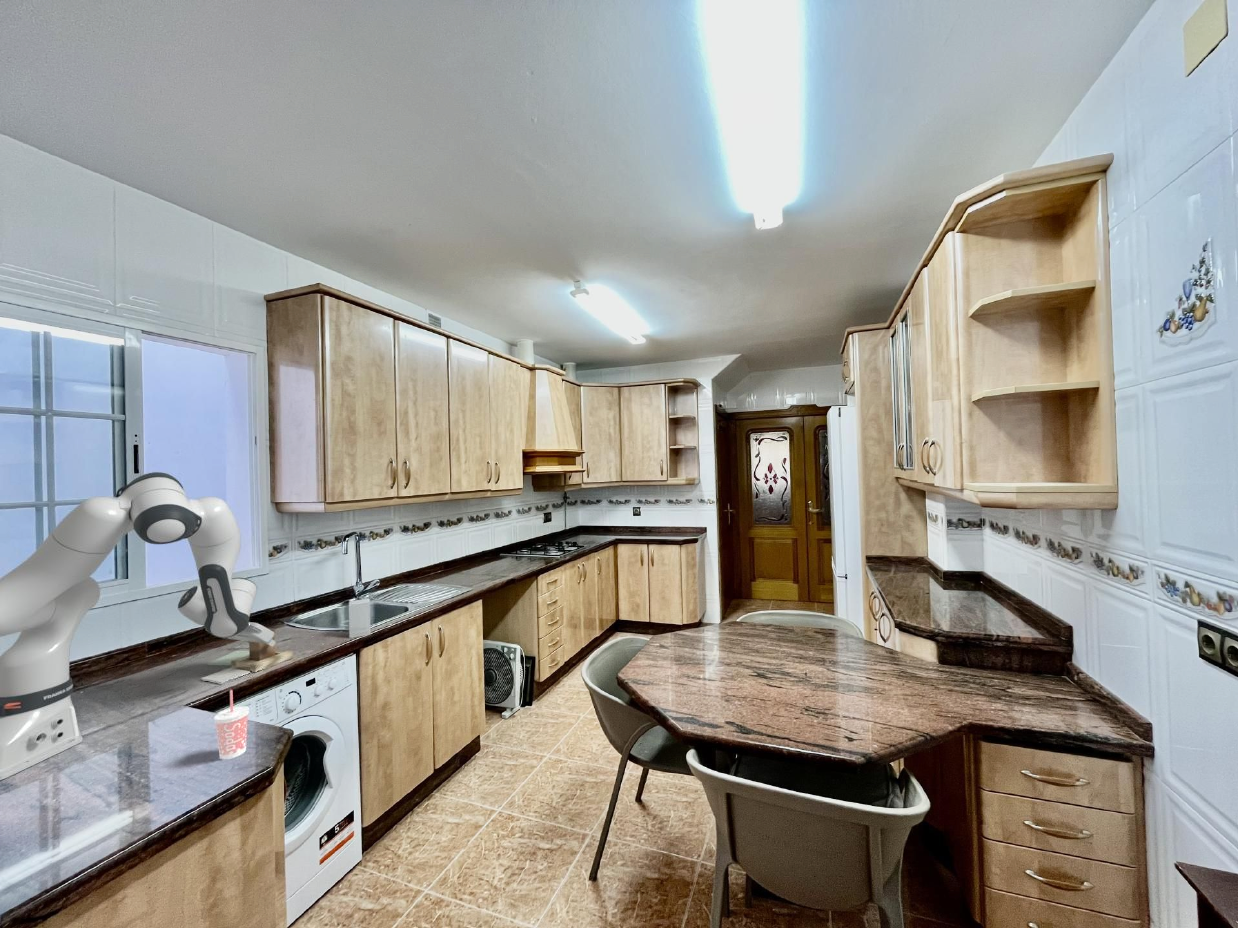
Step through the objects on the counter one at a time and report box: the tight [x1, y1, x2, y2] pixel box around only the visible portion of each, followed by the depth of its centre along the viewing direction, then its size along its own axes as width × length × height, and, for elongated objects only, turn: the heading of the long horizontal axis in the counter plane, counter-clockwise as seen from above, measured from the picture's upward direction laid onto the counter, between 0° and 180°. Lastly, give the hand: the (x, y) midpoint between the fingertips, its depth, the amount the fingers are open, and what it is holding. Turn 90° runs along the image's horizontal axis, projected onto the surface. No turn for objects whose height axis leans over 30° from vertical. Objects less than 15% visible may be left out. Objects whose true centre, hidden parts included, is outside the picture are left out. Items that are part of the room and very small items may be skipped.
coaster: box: [207, 650, 249, 666], centre depth 167 cm, size 11×11×1 cm
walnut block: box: [248, 627, 276, 661], centre depth 161 cm, size 5×5×11 cm
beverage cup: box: [213, 689, 250, 760], centre depth 108 cm, size 6×6×14 cm
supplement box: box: [348, 598, 371, 639], centre depth 189 cm, size 7×7×13 cm
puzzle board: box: [200, 648, 294, 683], centre depth 157 cm, size 21×12×2 cm, turn 159°
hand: (263, 643), depth 161 cm, fingers open, 8 cm apart
